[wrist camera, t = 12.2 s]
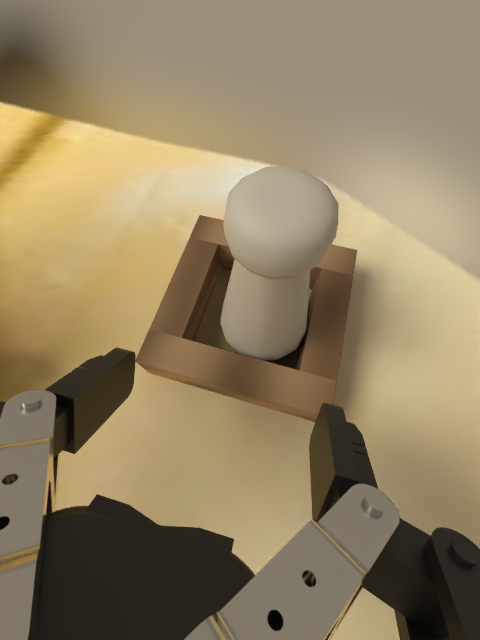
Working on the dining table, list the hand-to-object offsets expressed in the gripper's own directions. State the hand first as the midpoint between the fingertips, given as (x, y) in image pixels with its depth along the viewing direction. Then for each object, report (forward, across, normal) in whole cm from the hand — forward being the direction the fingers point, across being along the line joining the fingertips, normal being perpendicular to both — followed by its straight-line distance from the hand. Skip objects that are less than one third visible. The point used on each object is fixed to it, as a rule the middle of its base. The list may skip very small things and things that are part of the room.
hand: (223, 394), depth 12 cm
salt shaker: (+10, +1, -1) cm, 10 cm away
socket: (+11, 0, 0) cm, 11 cm away
